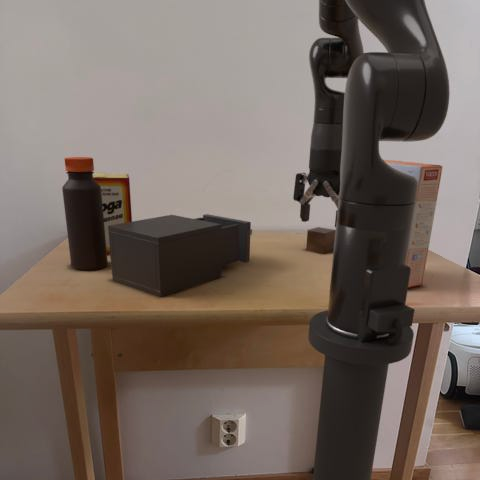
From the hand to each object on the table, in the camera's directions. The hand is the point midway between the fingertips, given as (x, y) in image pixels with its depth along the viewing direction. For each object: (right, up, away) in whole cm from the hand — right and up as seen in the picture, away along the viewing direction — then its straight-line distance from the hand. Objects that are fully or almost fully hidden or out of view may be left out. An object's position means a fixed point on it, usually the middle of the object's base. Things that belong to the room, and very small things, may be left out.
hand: (321, 224), depth 108 cm
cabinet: (-31, -14, -20) cm, 39 cm away
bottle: (-47, -11, -13) cm, 50 cm away
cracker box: (+9, -14, -16) cm, 23 cm away
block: (0, -5, +2) cm, 6 cm away
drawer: (-24, -10, -12) cm, 28 cm away
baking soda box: (-46, -6, -2) cm, 47 cm away
